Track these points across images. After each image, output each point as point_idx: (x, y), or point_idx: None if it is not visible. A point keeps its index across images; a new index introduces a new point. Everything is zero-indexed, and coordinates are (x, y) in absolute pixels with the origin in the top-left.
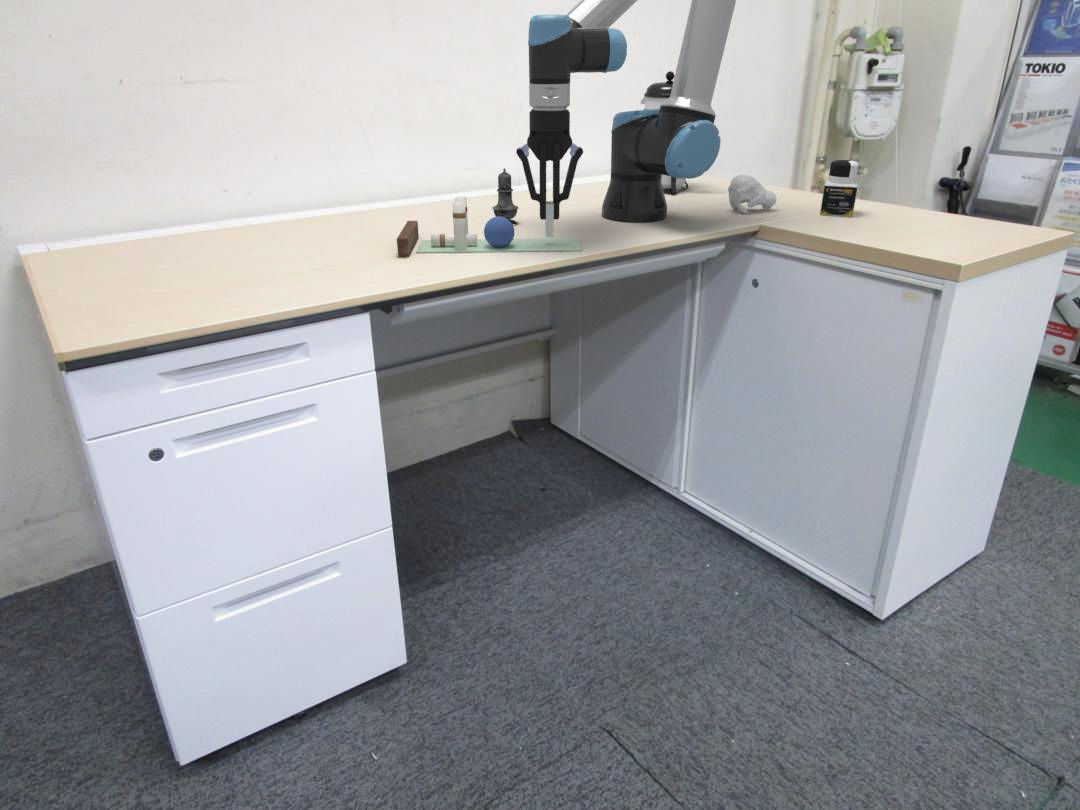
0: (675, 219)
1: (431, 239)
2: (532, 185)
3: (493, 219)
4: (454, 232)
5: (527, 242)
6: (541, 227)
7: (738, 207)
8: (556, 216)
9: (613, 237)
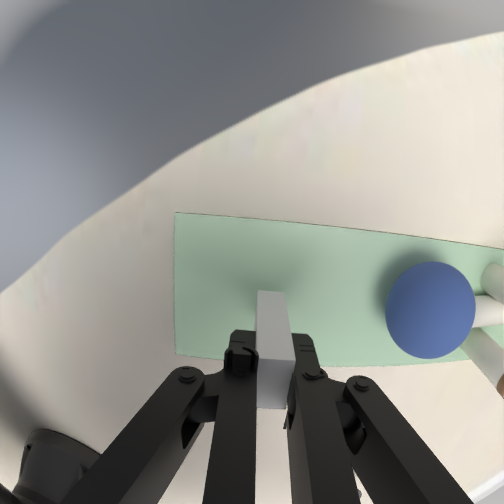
0: (17, 424)
1: None
2: (385, 425)
3: (469, 316)
4: None
5: (330, 327)
6: (258, 455)
7: None
8: (242, 335)
9: (88, 349)
